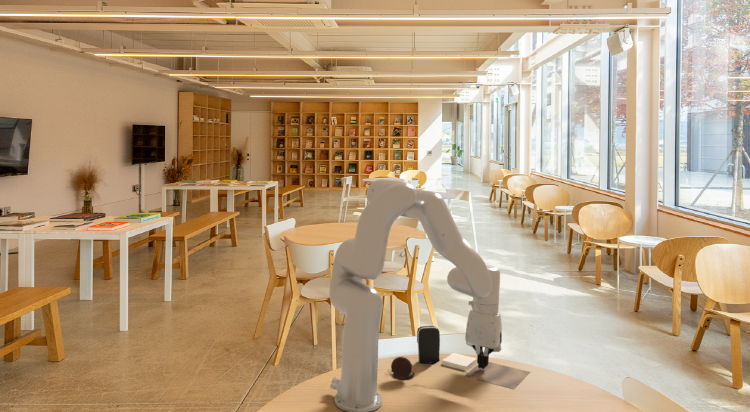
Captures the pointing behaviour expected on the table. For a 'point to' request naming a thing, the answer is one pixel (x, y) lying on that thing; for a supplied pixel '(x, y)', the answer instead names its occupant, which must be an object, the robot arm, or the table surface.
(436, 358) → the battery charger
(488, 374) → the board
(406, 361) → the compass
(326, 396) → the table surface
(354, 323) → the robot arm
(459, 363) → the coaster
